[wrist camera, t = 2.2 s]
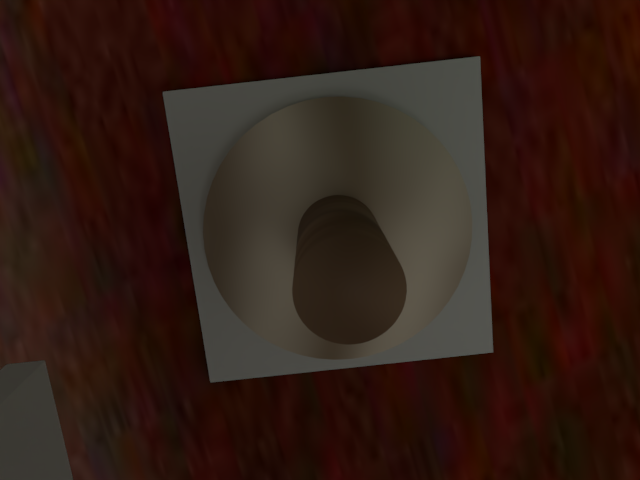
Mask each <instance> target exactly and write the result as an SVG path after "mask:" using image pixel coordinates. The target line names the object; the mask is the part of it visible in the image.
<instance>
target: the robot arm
mask: <svg viewBox="0 0 640 480" xmlns="http://www.w3.org/2000/svg"><path fill="white" fill-rule="evenodd" d="M0 480H73V477H72V472H71V468H70V464H69V460H68V456H67V451H66V447H65V443H64V439H63V435H62V430H61V426H60V422H59V418H58V414H57V409H56V405H55V401H54V397H53V393H52V388H51V384H50V380H49V376H48V372H47V367H46V363H45V360H44V361H34V362H24V363H15V364H7V365H5V366H4V367H3V368H2V369H1V370H0Z"/></svg>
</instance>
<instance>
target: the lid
mask: <svg viewBox="0 0 640 480" xmlns="http://www.w3.org/2000/svg"><path fill="white" fill-rule="evenodd" d="M203 238H204V249H205V254H206V258H207V263H208V267H209V269H210V272H211V275H212V277H213V280H214V283H215V284H216V286H217V288H218V290H219V292H220V294H221V296H222V297H223V299H224V300H225V302H226V303H227V304H228V306H229V307H230V309H231V310H232V311H233V312H234V313H235V315H236V316H237V317H238V318H239V319H240V320H241V321H242V322H243V323H244V324H245V325H246V326H247V327H249V328H250V329H251V330H252V331H253V332H255V333H256V334H257V335H259V336H260V337H262V338H264V339H265V340H267V341H268V342H270V343H272V344H274V345H276V346H278V347H280V348H282V349H284V350H287V351H290V352H293V353H296V354H299V355H303V356H308V357H313V358H318V359H331V360H340V359H354V358H360V357H366V356H370V355H373V354H377V353H380V352H383V351H386V350H388V349H390V348H393V347H395V346H397V345H399V344H401V343H403V342H405V341H406V340H408V339H410V338H411V337H413V336H414V335H416V334H417V333H418V332H420V331H421V330H422V329H424V328H425V327H426V326H427V325H428V324H429V323H430V322H431V321H432V320H433V319H434V318H435V317H436V316H437V315H438V314H439V313H440V312H441V311H442V309H443V308H444V307H445V306H446V304H447V303H448V302H449V300H450V299H451V297H452V295H453V294H454V292H455V290H456V289H457V287H458V285H459V283H460V281H461V278H462V276H463V274H464V271H465V268H466V265H467V261H468V258H469V254H470V248H471V241H472V213H471V205H470V200H469V196H468V192H467V188H466V185H465V183H464V180H463V178H462V175H461V173H460V171H459V169H458V167H457V165H456V164H455V162H454V160H453V158H452V157H451V155H450V154H449V152H448V151H447V150H446V148H445V147H444V146H443V145H442V143H441V142H440V141H439V140H438V139H437V138H436V137H435V136H434V135H433V134H432V133H431V132H430V131H429V130H428V129H427V128H426V127H424V126H423V125H422V124H420V123H419V122H417V121H416V120H415V119H413V118H412V117H410V116H408V115H407V114H405V113H403V112H401V111H399V110H397V109H395V108H393V107H390V106H387V105H385V104H382V103H379V102H375V101H371V100H367V99H363V98H354V97H343V96H341V97H322V98H317V99H311V100H306V101H303V102H299V103H296V104H293V105H290V106H287V107H285V108H283V109H281V110H279V111H277V112H275V113H273V114H271V115H269V116H268V117H266V118H265V119H263V120H262V121H260V122H259V123H257V124H256V125H254V126H253V127H252V128H251V129H250V130H249V131H248V132H246V133H245V134H244V135H243V136H242V137H241V138H240V139H239V140H238V141H237V143H236V144H235V145H234V146H233V147H232V148H231V149H230V151H229V152H228V154H227V155H226V157H225V158H224V160H223V161H222V163H221V164H220V166H219V168H218V170H217V172H216V175H215V177H214V179H213V181H212V184H211V187H210V190H209V193H208V196H207V200H206V206H205V211H204V221H203Z"/></svg>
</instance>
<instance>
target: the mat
mask: <svg viewBox="0 0 640 480" xmlns="http://www.w3.org/2000/svg"><path fill="white" fill-rule="evenodd" d="M341 96H343V97H354V98H363V99H367V100H371V101H375V102H379V103H382V104H385V105H387V106H390V107H393V108H395V109H397V110H399V111H401V112H403V113H405V114H407V115H408V116H410V117H412V118H413V119H415V120H416V121H417V122H419V123H420V124H422V125H423V126H424V127H426V128H427V129H428V130H429V131H430V132H431V133H432V134H433V135H434V136H435V137H436V138H437V139H438V140H439V141H440V142H441V143H442V145H443V146H444V147H445V148H446V150H447V151H448V152H449V154H450V155H451V157H452V158H453V160H454V162H455V164H456V165H457V167H458V169H459V171H460V173H461V175H462V178H463V180H464V183H465V185H466V188H467V192H468V196H469V200H470V205H471V213H472V241H471V248H470V254H469V258H468V261H467V265H466V268H465V271H464V274H463V276H462V278H461V281H460V283H459V285H458V287H457V289H456V290H455V292H454V294H453V295H452V297H451V299H450V300H449V302H448V303H447V304H446V306H445V307H444V308H443V309H442V311H441V312H440V313H439V314H438V315H437V316H436V317H435V318H434V319H433V320H432V321H431V322H430V323H429V324H428V325H427V326H426V327H425V328H424V329H422V330H421V331H420V332H418V333H417V334H416V335H414V336H413V337H411V338H410V339H408V340H406V341H405V342H403V343H401V344H399V345H397V346H395V347H393V348H390V349H388V350H386V351H383V352H380V353H377V354H373V355H370V356H366V357H360V358H354V359H340V360H331V359H318V358H313V357H308V356H303V355H299V354H296V353H293V352H290V351H287V350H284V349H282V348H280V347H278V346H276V345H274V344H272V343H270V342H268V341H267V340H265V339H264V338H262V337H260V336H259V335H257V334H256V333H255V332H253V331H252V330H251V329H250V328H249V327H247V326H246V325H245V324H244V323H243V322H242V321H241V320H240V319H239V318H238V317H237V316H236V315H235V313H234V312H233V311H232V310H231V309H230V307H229V306H228V304H227V303H226V302H225V300H224V299H223V297H222V296H221V294H220V292H219V290H218V288H217V286H216V284H215V283H214V280H213V277H212V275H211V272H210V269H209V267H208V263H207V258H206V254H205V249H204V238H203V221H204V211H205V206H206V200H207V196H208V193H209V190H210V187H211V184H212V181H213V179H214V177H215V175H216V172H217V170H218V168H219V166H220V164H221V163H222V161H223V160H224V158H225V157H226V155H227V154H228V152H229V151H230V149H231V148H232V147H233V146H234V145H235V144H236V143H237V141H238V140H239V139H240V138H241V137H242V136H243V135H244V134H245V133H246V132H248V131H249V130H250V129H251V128H252V127H253V126H254V125H256V124H257V123H259V122H260V121H262V120H263V119H265V118H266V117H268V116H269V115H271V114H273V113H275V112H277V111H279V110H281V109H283V108H285V107H287V106H290V105H293V104H296V103H299V102H303V101H306V100H311V99H317V98H322V97H341ZM163 98H164V104H165V110H166V117H167V123H168V129H169V135H170V141H171V147H172V153H173V159H174V165H175V171H176V177H177V183H178V189H179V196H180V202H181V208H182V214H183V220H184V226H185V232H186V238H187V244H188V250H189V256H190V262H191V269H192V275H193V281H194V287H195V293H196V299H197V305H198V311H199V317H200V323H201V329H202V335H203V341H204V348H205V354H206V360H207V366H208V372H209V378H210V383H211V382H220V381H230V380H239V379H248V378H258V377H267V376H277V375H286V374H295V373H305V372H314V371H323V370H333V369H342V368H352V367H361V366H370V365H380V364H389V363H398V362H408V361H417V360H426V359H436V358H445V357H455V356H464V355H473V354H483V353H492V352H493V338H492V315H491V292H490V270H489V247H488V225H487V202H486V179H485V157H484V134H483V112H482V89H481V66H480V56H478V57H469V58H460V59H451V60H442V61H433V62H424V63H415V64H406V65H397V66H389V67H380V68H371V69H362V70H353V71H344V72H335V73H326V74H317V75H308V76H299V77H290V78H281V79H272V80H263V81H254V82H245V83H236V84H228V85H219V86H210V87H201V88H192V89H183V90H174V91H165V92H163Z"/></svg>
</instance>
